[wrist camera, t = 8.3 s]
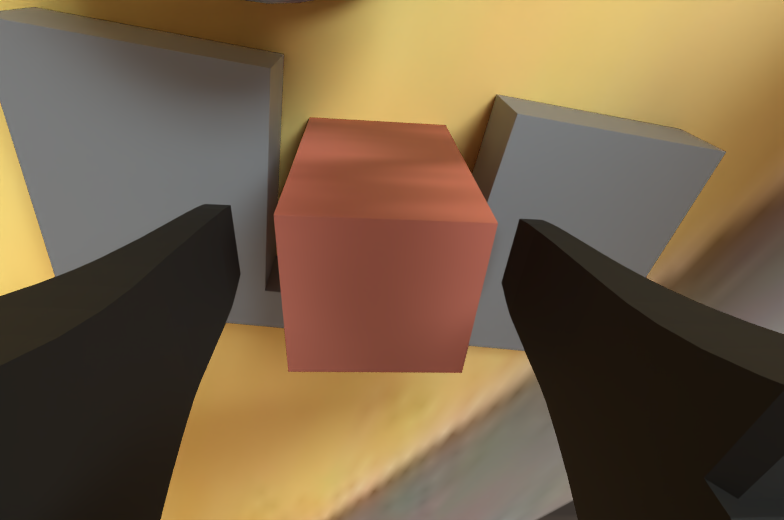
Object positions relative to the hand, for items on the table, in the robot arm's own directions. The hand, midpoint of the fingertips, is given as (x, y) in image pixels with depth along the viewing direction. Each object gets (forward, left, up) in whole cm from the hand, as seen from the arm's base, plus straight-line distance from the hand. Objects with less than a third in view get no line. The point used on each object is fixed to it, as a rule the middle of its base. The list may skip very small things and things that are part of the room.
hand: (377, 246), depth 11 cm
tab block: (0, 0, -3) cm, 4 cm away
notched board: (0, 0, -3) cm, 3 cm away
